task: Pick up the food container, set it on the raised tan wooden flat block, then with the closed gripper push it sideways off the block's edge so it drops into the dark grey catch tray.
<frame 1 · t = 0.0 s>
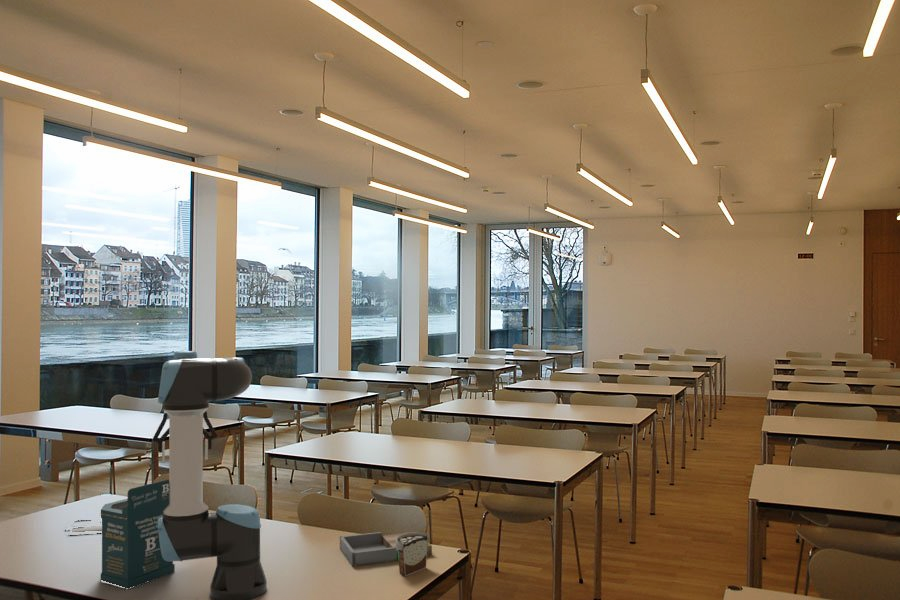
hand: (185, 460, 245), 28 cm above the table, fingers open, 13 cm apart
food container: (408, 570, 219), on the table
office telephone: (96, 527, 267), on the table
donation box: (133, 576, 215), on the table
tan wooden flat block: (406, 549, 238), on the table
catch tray: (367, 554, 233), on the table
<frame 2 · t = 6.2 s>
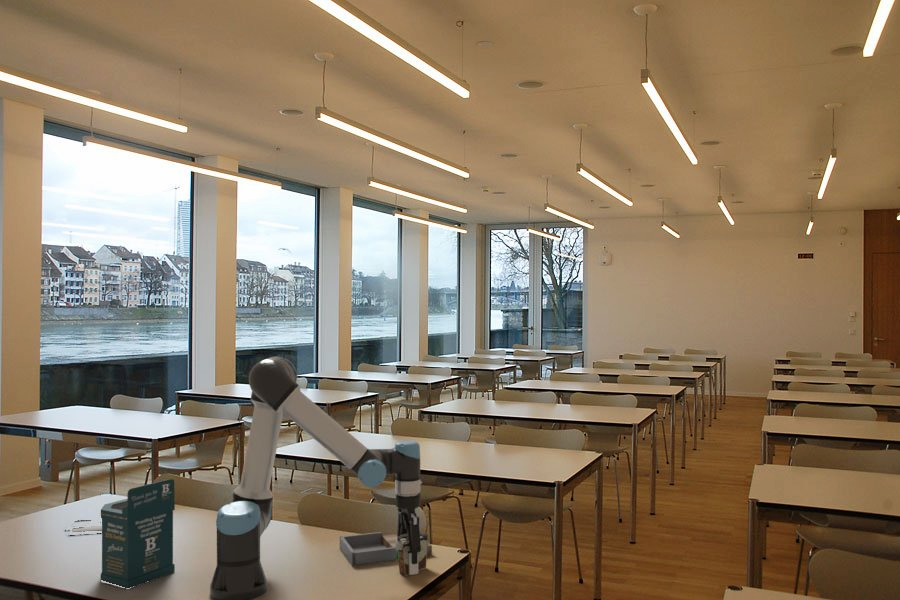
hand: (408, 568, 219), 0 cm above the table, fingers open, 8 cm apart
food container: (408, 570, 219), on the table, touching gripper
everything else where it was.
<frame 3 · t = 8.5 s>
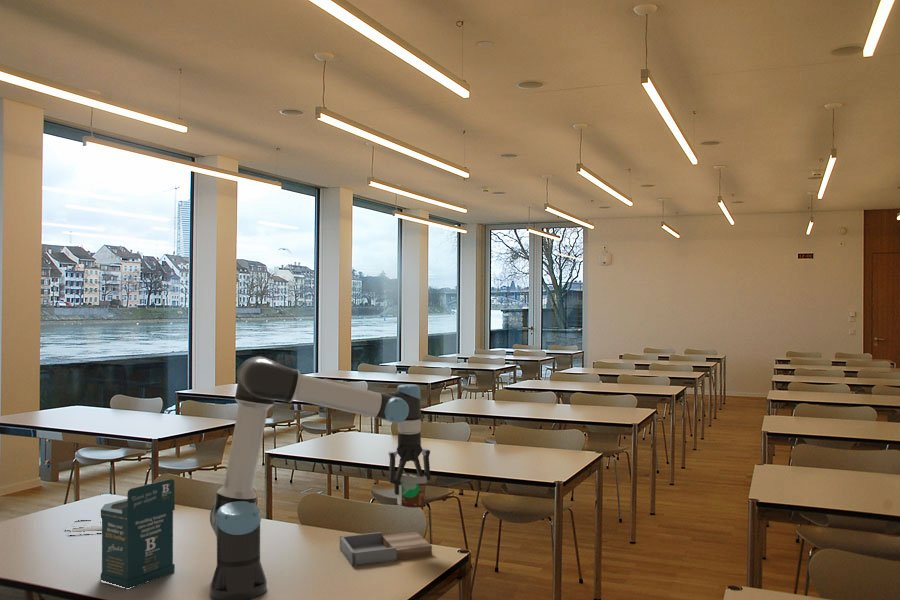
hand: (409, 503, 238), 15 cm above the table, fingers closed on food container, 6 cm apart
food container: (406, 505, 237), point 15 cm above the table, touching gripper
everything else where it was.
when the fingers open (4 cm above the table, at t = 10.2 s): food container stays where it is, resting on tan wooden flat block.
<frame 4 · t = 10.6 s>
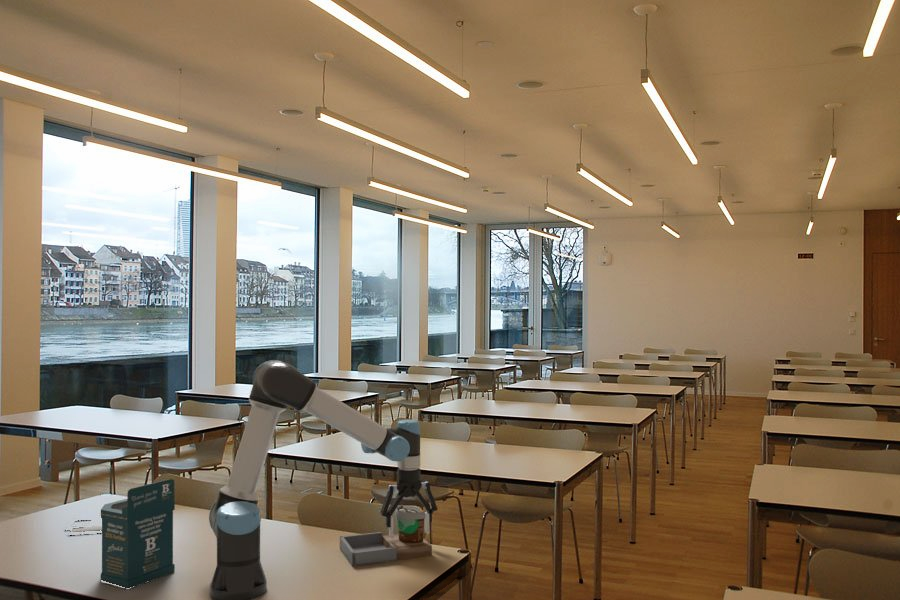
hand: (409, 534, 238), 5 cm above the table, fingers open, 11 cm apart
food container: (406, 541, 238), point 3 cm above the table, touching tan wooden flat block
everything else where it was.
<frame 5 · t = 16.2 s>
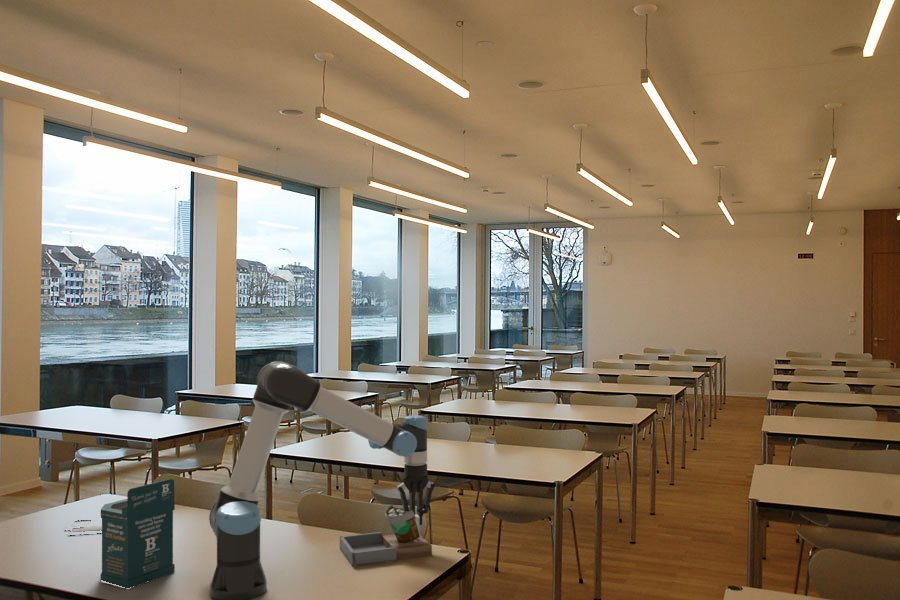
hand: (416, 535, 239), 4 cm above the table, fingers closed
food container: (404, 539, 237), point 4 cm above the table, touching gripper
everything else where it was.
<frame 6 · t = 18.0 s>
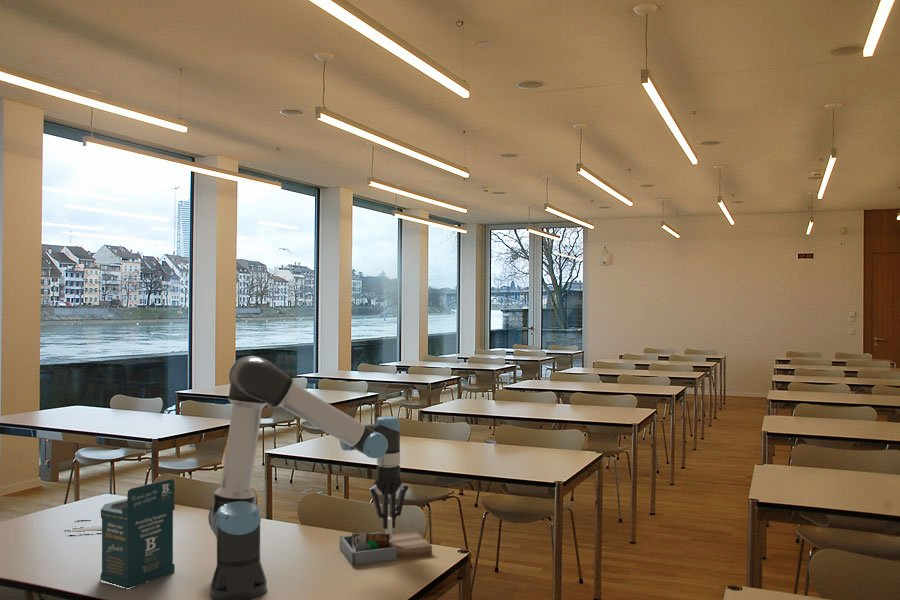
hand: (389, 538, 236), 4 cm above the table, fingers closed
food container: (386, 543, 236), point 3 cm above the table, touching gripper
everything else where it was.
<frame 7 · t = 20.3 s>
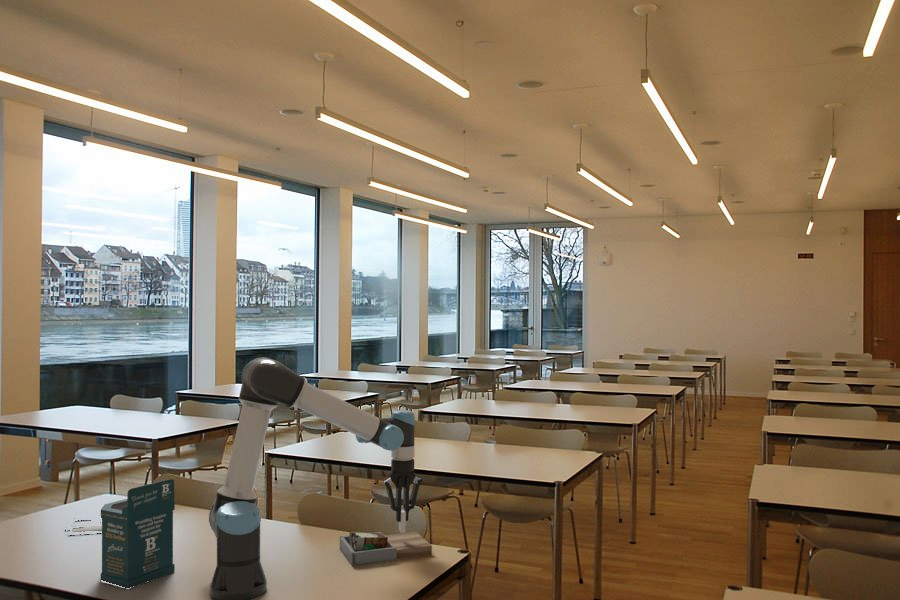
hand: (402, 531, 237), 6 cm above the table, fingers closed
food container: (383, 545, 235), point 2 cm above the table, touching catch tray
everything else where it was.
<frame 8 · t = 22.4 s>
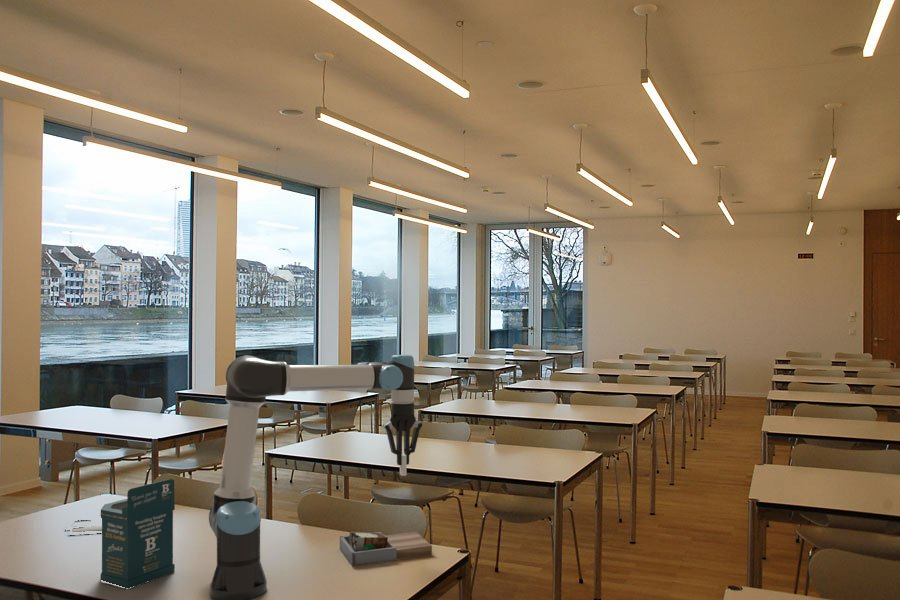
hand: (403, 474, 238), 24 cm above the table, fingers closed
nothing on the table moved.
at the end: food container inside the target area (6.2 cm from its centre), point 2.4 cm above the table; food container point 2.4 cm above the table; the gripper is holding nothing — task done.
